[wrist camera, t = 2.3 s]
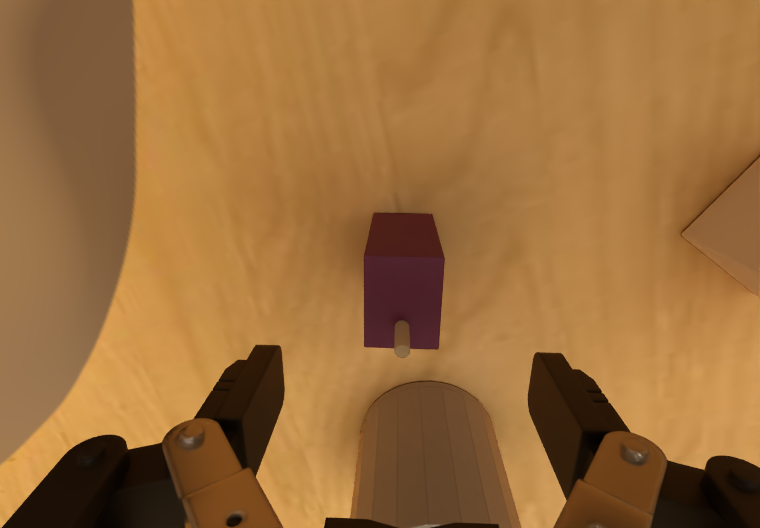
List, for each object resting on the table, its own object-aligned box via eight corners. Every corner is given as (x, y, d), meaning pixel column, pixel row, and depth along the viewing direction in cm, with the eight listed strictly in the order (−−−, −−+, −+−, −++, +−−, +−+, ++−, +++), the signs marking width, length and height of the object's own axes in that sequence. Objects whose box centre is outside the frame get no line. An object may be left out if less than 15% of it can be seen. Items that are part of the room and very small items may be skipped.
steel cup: (360, 378, 28) (341, 520, 19) (499, 383, 28) (551, 529, 18) (361, 483, 31) (344, 650, 22) (486, 488, 31) (524, 660, 21)
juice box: (373, 212, 24) (359, 274, 16) (432, 213, 24) (450, 276, 16) (373, 283, 26) (360, 374, 17) (428, 285, 25) (443, 377, 17)
